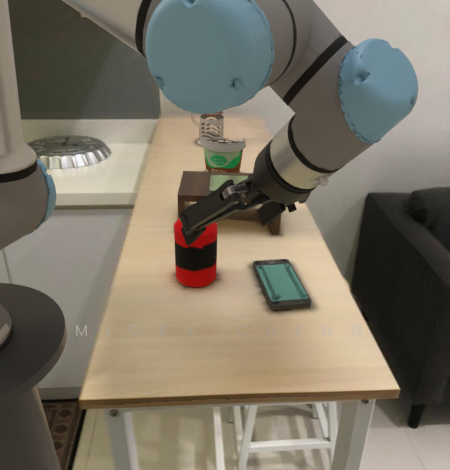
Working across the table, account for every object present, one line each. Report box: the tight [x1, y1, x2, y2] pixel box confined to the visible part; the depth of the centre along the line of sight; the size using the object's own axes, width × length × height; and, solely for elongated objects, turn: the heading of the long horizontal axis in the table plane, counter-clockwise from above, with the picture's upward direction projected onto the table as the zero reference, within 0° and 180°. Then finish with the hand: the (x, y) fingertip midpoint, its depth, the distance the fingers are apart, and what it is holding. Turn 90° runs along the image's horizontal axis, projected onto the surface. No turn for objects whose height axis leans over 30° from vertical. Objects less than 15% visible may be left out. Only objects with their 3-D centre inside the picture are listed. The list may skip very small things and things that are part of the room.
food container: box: [200, 138, 247, 173], centre depth 125 cm, size 12×6×10 cm, turn 88°
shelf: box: [177, 170, 282, 236], centre depth 104 cm, size 22×14×12 cm, turn 89°
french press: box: [190, 110, 225, 146], centre depth 146 cm, size 10×12×25 cm
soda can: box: [173, 217, 218, 288], centre depth 83 cm, size 8×8×12 cm
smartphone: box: [252, 258, 312, 311], centre depth 85 cm, size 7×1×15 cm
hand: (224, 227), depth 72 cm, fingers open, 13 cm apart
